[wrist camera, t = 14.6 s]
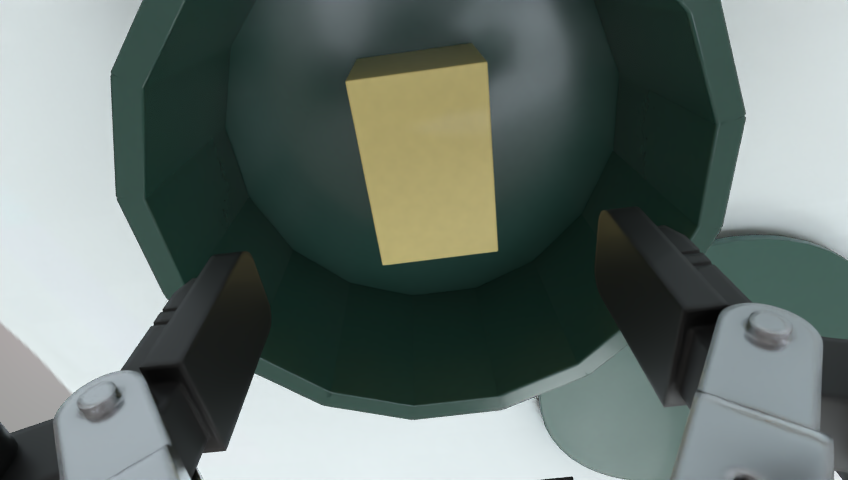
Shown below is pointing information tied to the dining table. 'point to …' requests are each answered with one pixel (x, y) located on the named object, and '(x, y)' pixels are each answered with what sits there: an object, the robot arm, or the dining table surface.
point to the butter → (426, 151)
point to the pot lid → (664, 426)
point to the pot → (348, 198)
